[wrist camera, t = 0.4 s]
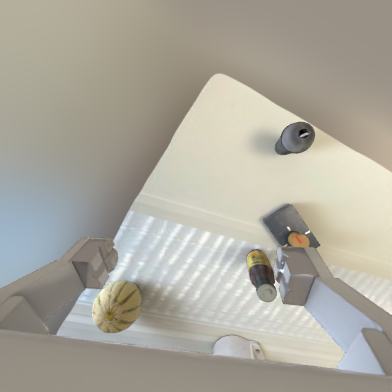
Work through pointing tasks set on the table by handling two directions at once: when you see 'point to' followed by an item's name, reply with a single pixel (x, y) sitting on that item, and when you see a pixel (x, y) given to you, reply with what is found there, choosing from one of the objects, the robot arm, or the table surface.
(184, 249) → the table surface
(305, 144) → the beverage cup
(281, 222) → the grey dial panel
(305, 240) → the tan cylinder
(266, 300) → the sauce bottle
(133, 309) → the cantaloupe
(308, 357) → the table surface
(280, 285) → the robot arm
